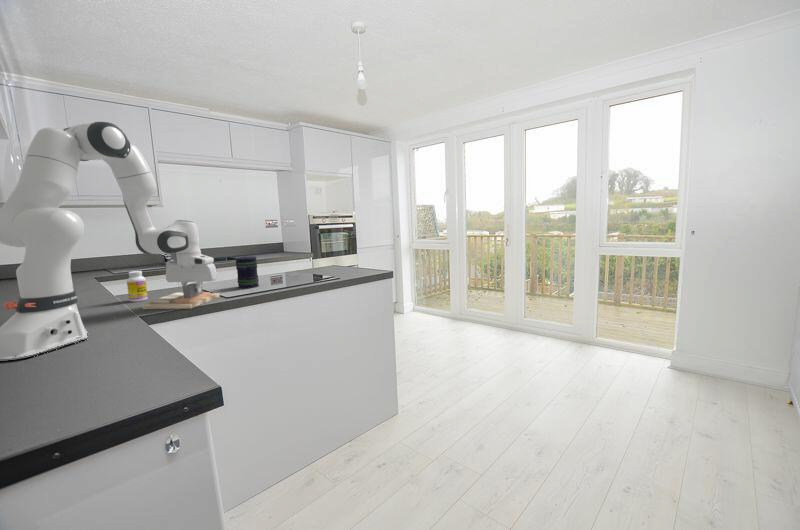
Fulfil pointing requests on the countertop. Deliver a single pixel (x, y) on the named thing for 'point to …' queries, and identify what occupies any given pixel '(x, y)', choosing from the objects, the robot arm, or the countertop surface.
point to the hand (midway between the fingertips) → (193, 292)
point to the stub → (192, 294)
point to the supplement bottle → (137, 287)
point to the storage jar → (247, 272)
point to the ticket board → (170, 303)
